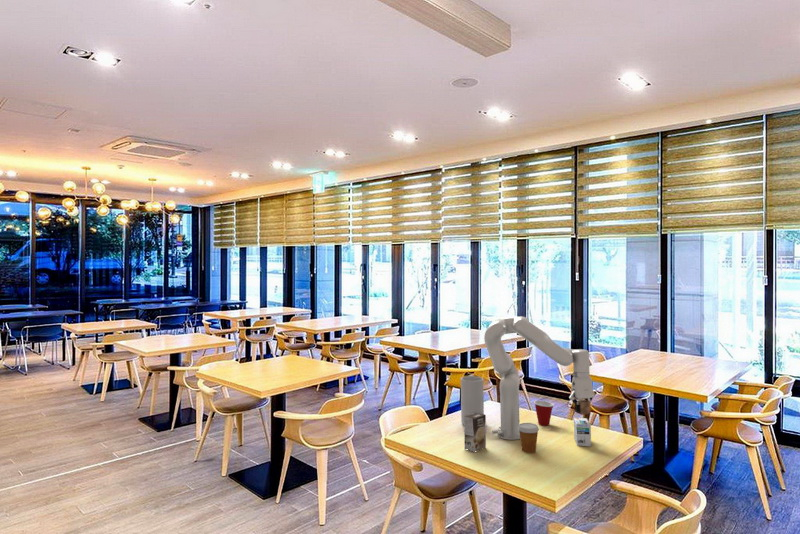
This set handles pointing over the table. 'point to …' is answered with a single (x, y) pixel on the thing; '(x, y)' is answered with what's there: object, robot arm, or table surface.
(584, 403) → the walnut block
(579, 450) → the table surface
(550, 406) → the plastic cup
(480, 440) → the coffee box
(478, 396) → the cylinder vase
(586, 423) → the light bulb box
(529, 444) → the disposable coffee cup
